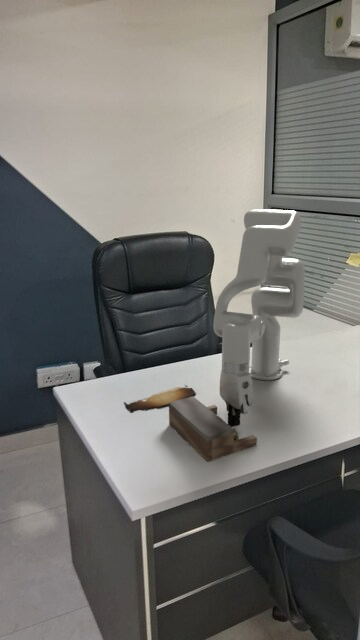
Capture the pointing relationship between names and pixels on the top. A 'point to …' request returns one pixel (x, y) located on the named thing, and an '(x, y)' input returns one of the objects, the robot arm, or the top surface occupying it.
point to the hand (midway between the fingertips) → (233, 424)
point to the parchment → (161, 399)
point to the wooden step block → (205, 429)
